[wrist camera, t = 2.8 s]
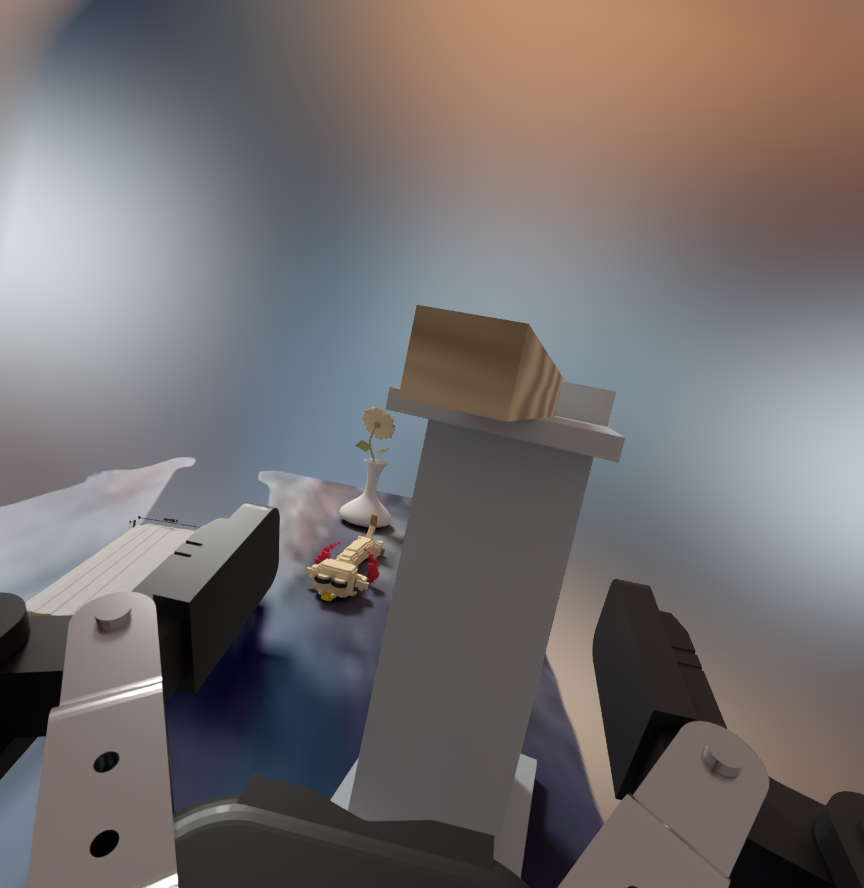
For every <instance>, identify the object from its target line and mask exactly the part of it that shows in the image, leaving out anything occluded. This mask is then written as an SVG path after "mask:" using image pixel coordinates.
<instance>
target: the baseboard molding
mask: <svg viewBox="0 0 864 888" xmlns="http://www.w3.org/2000/svg"><path fill="white" fill-rule="evenodd" d="M138 518H139V519H140V516H139V517H138ZM144 519H146V518H144ZM164 520H166V521H168V520H170V519H164ZM170 521H171V522H175V521H174V520H173V519H172V520H170ZM177 521H178V520H176V522H177ZM129 522H130V523H131V521H129ZM135 523H136V520H134V521H133V527H134V525H135ZM195 527H196V526H195ZM199 528H200V527H199ZM194 532H195V531H192V530H185V529H176V528H173V527H164V526H161V525H160V526H157V525H153V524H148V523H147V524H146V525H144V526H139V525H136V526H135V527H134V528H132V529H131V530H129V531H128V532H126V533H125V534H124V535H122V536H121V537H119V538H118V539H116V540H115V541H114V542H112V543H111V544H109V545H108V546H106V547H105V548H103V549H102V550H101V551H99V552H98V553H96V554H95V555H93V556H92V557H91V558H89V559H88V560H86V561H85V562H83V563H82V564H80V565H79V566H78V567H76V568H75V569H73V570H72V571H70V572H69V573H68V574H66V575H65V576H63V577H62V578H60V579H59V580H57V581H56V582H55V583H53V584H52V585H50V586H49V587H47V588H46V589H45V590H43V591H42V592H40V593H39V594H37V595H36V596H34V597H33V598H32V599H30V600H29V601H27V602H26V603H25V604H26V609H27V613H28V616H61V615H74V614H75V613H76V611H78V610H79V609H80V608H81V607H82V606H84V605H85V604H86V603H88V602H90V601H92V600H94V599H96V598H98V597H101V596H104V595H107V594H111V593H117V592H131V591H132V590H133V589H134V588H135V587H136V586H137V585H138V584H139V583H141V582H142V581H143V580H144V579H145V578H146V577H147V576H148V575H149V574H150V573H151V572H152V571H153V570H155V569H156V568H157V567H158V566H159V565H160V564H161V563H162V562H163V561H164V560H165V559H166V558H167V557H169V556H170V555H171V554H174V551H175V550H176V549H177V548H178V547H179V546H180V545H181V544H183V543H185V542H186V540H187V539H188V538H189V537H190V536H191V535H192V534H193V533H194Z"/></svg>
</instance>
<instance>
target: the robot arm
mask: <svg viewBox="0 0 864 888" xmlns="http://www.w3.org/2000/svg"><path fill="white" fill-rule="evenodd" d="M279 525H280V515H279V511H278V509H277V508H273V507H268V506H263V505H258V504H253V503H249V502H247V503H244V504H243V505H242V506H241V507H240V508H239V509H238V510H237V511H236V512H235V513H234V514H233V515H232V516H231V517H230V518H229V519H224V518H219V519H217V520H214V521H212V522H210V523H208V524H206V525H204V526H202V527H200V528H199V529H198V530H197V531H195V532H194V533H193V534H192V535H191V536H190V537H189V538H188V539H187V540H186V542H185V543H183V544H181V545H180V546H179V547H178V548H177V549H176V550H175V551H174V554H171V555H170V556H169V557H167V558H166V559H165V560H164V561H163V562H162V563H161V564H160V565H159V566H158V567H157V568H156V569H155V570H153V571H152V572H151V573H150V574H149V575H148V576H147V577H146V578H145V579H144V580H143V581H142V582H141V583H139V584H138V585H137V586H136V587H135V588H134V589H133V590H132V591H131V592H117V593H111V594H107V595H104V596H101V597H98V598H96V599H94V600H92V601H90V602H88V603H86V604H85V605H84V606H82V607H81V608H80V609H79V610H78V611H76V613H75V614H74V615H61V616H28V613H27V609H26V604H25V602H24V600H23V599H22V598H20V597H19V596H17V595H14V594H10V593H0V780H1V778H2V777H3V776H4V775H5V774H6V773H7V772H8V770H9V769H10V768H11V767H12V766H13V765H14V764H15V762H16V761H17V760H18V759H19V758H20V757H21V756H22V754H23V753H24V752H25V751H26V750H27V749H28V748H29V746H30V745H31V744H32V743H33V742H34V741H35V740H36V738H37V737H42V736H46V741H45V749H44V757H43V765H42V772H41V780H40V788H39V795H38V803H37V811H36V818H35V826H34V834H33V842H32V849H31V857H30V865H29V872H28V880H27V888H530V887H529V886H528V885H527V884H526V883H525V882H524V881H523V880H522V879H521V878H519V877H518V876H517V875H516V874H515V873H513V872H512V871H511V870H509V869H508V868H507V867H505V866H504V865H503V864H501V863H499V862H498V861H496V860H494V859H493V857H494V835H490V834H486V833H482V832H478V831H475V830H471V829H467V828H463V827H459V826H455V825H451V824H447V823H443V822H439V821H436V820H405V821H366V820H363V819H361V818H359V817H357V816H356V815H354V814H352V813H351V812H349V811H347V810H346V809H344V808H342V807H340V806H339V805H337V804H335V803H334V802H332V801H330V800H329V799H327V798H325V797H324V796H322V795H320V794H318V793H317V792H315V791H313V790H312V789H310V788H307V787H303V786H299V785H295V784H291V783H287V782H283V781H279V780H276V779H272V778H268V777H264V776H260V775H256V774H251V776H250V778H249V780H248V782H247V784H246V786H245V788H244V790H243V792H242V794H233V795H226V796H220V797H215V798H212V799H208V800H204V801H201V802H199V803H196V804H193V805H191V806H188V807H186V808H184V809H182V810H180V811H178V812H176V813H175V808H174V798H173V786H172V774H171V763H170V751H169V739H168V728H167V716H166V705H165V703H166V701H167V700H168V699H169V697H170V696H171V695H172V693H173V692H174V691H175V689H176V690H180V691H184V692H188V693H192V694H196V692H197V691H198V689H199V688H200V687H201V685H202V684H203V682H204V681H205V680H206V678H207V677H208V675H209V674H210V672H211V671H212V670H213V668H214V667H215V665H216V664H217V662H218V661H219V660H220V658H221V657H222V655H223V654H224V652H225V651H226V650H227V648H228V647H229V645H230V644H231V642H232V641H233V640H234V638H235V637H236V635H237V634H238V632H239V631H240V630H241V628H242V627H243V625H244V624H245V623H246V621H247V620H248V618H249V617H250V615H251V614H252V613H253V611H254V610H255V608H256V607H257V605H258V604H259V603H260V601H261V600H262V598H263V597H264V595H265V594H266V593H267V591H268V590H269V588H270V587H271V585H272V583H273V581H274V579H275V576H276V573H277V569H278V563H279ZM593 663H594V669H595V675H596V681H597V687H598V694H599V700H600V706H601V712H602V718H603V724H604V730H605V736H606V743H607V748H608V755H609V761H610V767H611V773H612V779H613V785H614V791H615V797H616V799H619V800H622V801H621V802H620V803H619V805H618V806H617V808H616V809H615V810H614V812H613V813H612V814H611V816H610V817H609V818H608V820H607V821H606V822H605V824H604V825H603V826H602V828H601V829H600V831H599V832H598V833H597V835H596V836H595V837H594V839H593V840H592V841H591V843H590V844H589V845H588V847H587V848H586V850H585V851H584V852H583V854H582V855H581V856H580V858H579V859H578V860H577V862H576V863H575V864H574V866H573V867H572V869H571V870H570V871H569V873H568V874H567V875H566V877H565V878H564V879H563V881H562V882H561V883H560V885H559V886H558V888H864V795H862V794H860V793H855V792H848V791H843V792H838V793H836V794H834V795H833V796H832V797H831V798H830V800H829V801H828V803H827V804H826V806H825V805H823V804H821V803H819V802H817V801H815V800H813V799H811V798H809V797H807V796H805V795H802V794H801V793H799V792H797V791H795V790H793V789H791V788H789V787H787V786H785V785H783V784H781V783H779V782H777V781H775V780H774V779H772V778H770V777H769V776H768V773H767V770H766V768H765V766H764V764H763V762H762V761H761V759H760V758H759V757H758V755H757V754H756V753H755V751H754V750H753V749H752V748H751V747H750V746H749V745H748V744H747V743H746V742H744V741H743V740H742V739H741V738H740V737H738V736H737V735H736V734H734V733H732V732H731V731H729V730H727V727H726V725H725V723H724V720H723V717H722V715H721V713H720V710H719V708H718V705H717V703H716V700H715V698H714V695H713V693H712V691H711V688H710V686H709V683H708V681H707V678H706V676H705V674H704V671H702V666H701V664H700V661H699V659H698V656H697V655H695V649H694V646H693V644H692V641H691V639H690V637H689V634H688V632H687V631H686V630H685V628H684V627H683V626H682V625H681V624H680V623H679V622H678V620H677V619H676V618H675V617H674V616H673V615H672V614H671V613H667V612H663V611H659V609H658V606H657V604H656V601H655V598H654V596H653V592H652V590H651V588H650V586H648V585H643V584H638V583H633V582H629V581H624V580H618V579H614V580H613V581H612V583H611V585H610V588H609V591H608V594H607V597H606V600H605V603H604V606H603V609H602V612H601V615H600V618H599V621H598V624H597V627H596V630H595V634H594V639H593Z"/></svg>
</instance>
